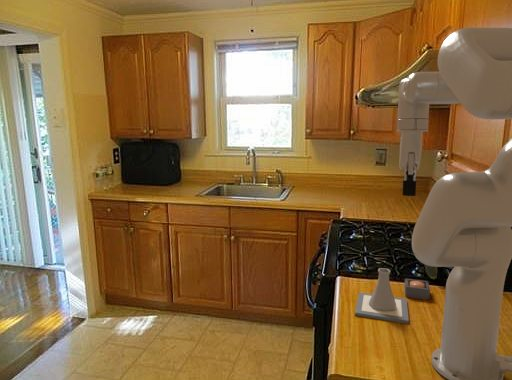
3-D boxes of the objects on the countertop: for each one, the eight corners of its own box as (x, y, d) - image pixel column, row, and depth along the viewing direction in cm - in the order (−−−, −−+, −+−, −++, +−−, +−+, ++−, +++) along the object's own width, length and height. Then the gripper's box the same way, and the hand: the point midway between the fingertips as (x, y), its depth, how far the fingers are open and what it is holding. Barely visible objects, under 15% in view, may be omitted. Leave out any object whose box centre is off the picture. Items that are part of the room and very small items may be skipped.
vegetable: (423, 279, 120) (428, 219, 117) (421, 275, 124) (426, 216, 121) (438, 281, 119) (443, 220, 116) (436, 276, 123) (441, 217, 120)
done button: (423, 290, 112) (423, 281, 111) (424, 296, 108) (425, 287, 107) (408, 288, 113) (409, 280, 112) (409, 294, 109) (410, 285, 109)
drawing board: (406, 301, 105) (406, 298, 105) (408, 323, 93) (408, 320, 93) (358, 294, 110) (358, 292, 109) (354, 315, 98) (355, 312, 97)
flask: (398, 313, 97) (401, 276, 95) (369, 310, 98) (371, 274, 97) (394, 300, 104) (396, 266, 102) (367, 298, 105) (368, 264, 104)
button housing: (427, 290, 112) (427, 281, 112) (429, 299, 106) (430, 289, 106) (404, 287, 114) (405, 278, 114) (405, 296, 108) (405, 286, 108)
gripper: (397, 127, 107) (394, 191, 109) (397, 125, 93) (393, 198, 95) (425, 127, 104) (422, 192, 106) (430, 125, 90) (426, 200, 93)
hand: (408, 195), depth 101 cm, fingers closed
